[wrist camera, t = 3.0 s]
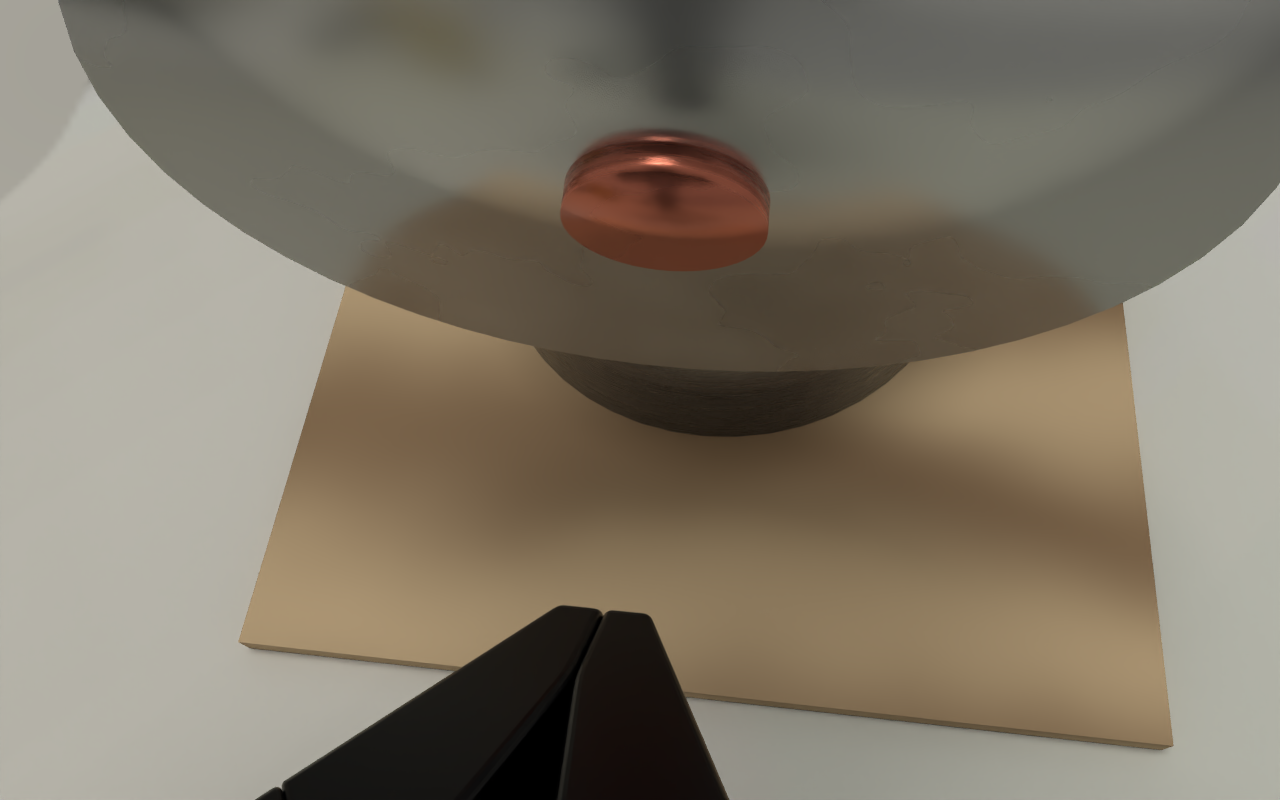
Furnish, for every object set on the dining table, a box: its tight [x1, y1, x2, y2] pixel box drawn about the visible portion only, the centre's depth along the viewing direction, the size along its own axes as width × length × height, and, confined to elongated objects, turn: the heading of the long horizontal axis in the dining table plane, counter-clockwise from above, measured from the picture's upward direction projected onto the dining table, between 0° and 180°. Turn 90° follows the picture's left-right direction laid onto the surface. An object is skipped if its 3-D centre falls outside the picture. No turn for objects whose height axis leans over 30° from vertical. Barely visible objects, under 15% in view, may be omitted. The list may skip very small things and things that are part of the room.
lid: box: [59, 0, 1280, 372], centre depth 11 cm, size 13×13×2 cm
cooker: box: [534, 346, 909, 437], centre depth 23 cm, size 12×17×6 cm
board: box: [238, 286, 1173, 750], centre depth 26 cm, size 24×20×1 cm
